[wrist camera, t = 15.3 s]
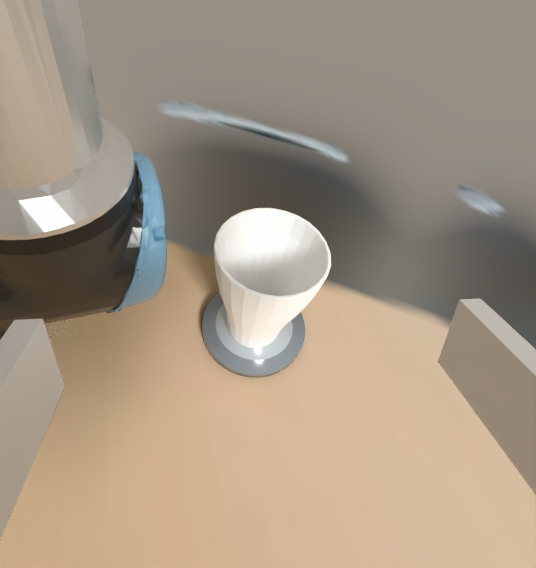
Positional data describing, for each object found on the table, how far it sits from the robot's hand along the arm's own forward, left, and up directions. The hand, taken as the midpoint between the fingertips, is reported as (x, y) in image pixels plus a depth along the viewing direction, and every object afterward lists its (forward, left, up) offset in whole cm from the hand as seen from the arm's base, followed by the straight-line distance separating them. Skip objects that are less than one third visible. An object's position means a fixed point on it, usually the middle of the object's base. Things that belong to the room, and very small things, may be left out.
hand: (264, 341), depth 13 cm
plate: (-6, +16, -29) cm, 34 cm away
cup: (-6, +16, -28) cm, 33 cm away
